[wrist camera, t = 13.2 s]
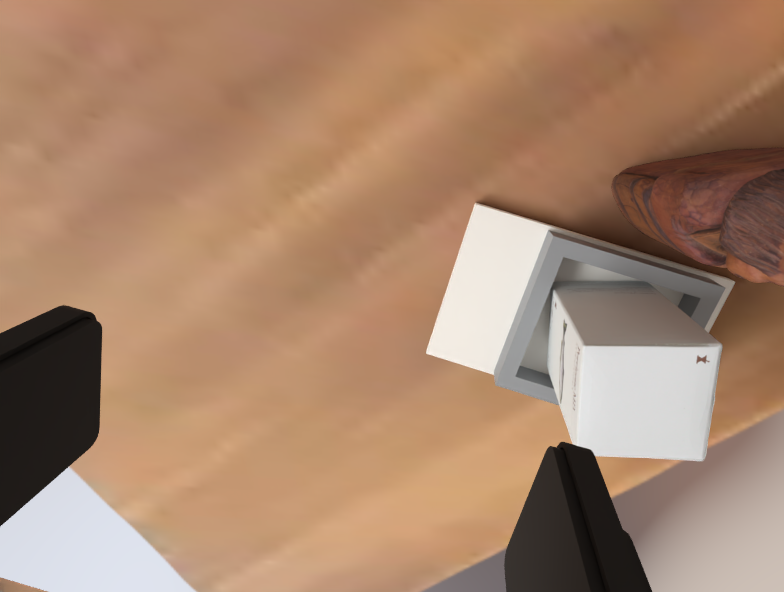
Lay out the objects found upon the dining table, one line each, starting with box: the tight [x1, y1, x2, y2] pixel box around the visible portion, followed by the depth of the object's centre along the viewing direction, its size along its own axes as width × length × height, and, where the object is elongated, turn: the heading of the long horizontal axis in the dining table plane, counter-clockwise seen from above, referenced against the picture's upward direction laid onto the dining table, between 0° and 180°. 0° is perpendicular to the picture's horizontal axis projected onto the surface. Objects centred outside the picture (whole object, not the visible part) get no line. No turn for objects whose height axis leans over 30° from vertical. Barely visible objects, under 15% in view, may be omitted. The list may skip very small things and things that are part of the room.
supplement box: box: [546, 281, 722, 461], centre depth 34 cm, size 7×7×13 cm
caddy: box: [426, 202, 735, 405], centre depth 40 cm, size 13×20×4 cm, turn 74°
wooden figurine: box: [612, 148, 784, 286], centre depth 29 cm, size 12×6×18 cm, turn 98°
